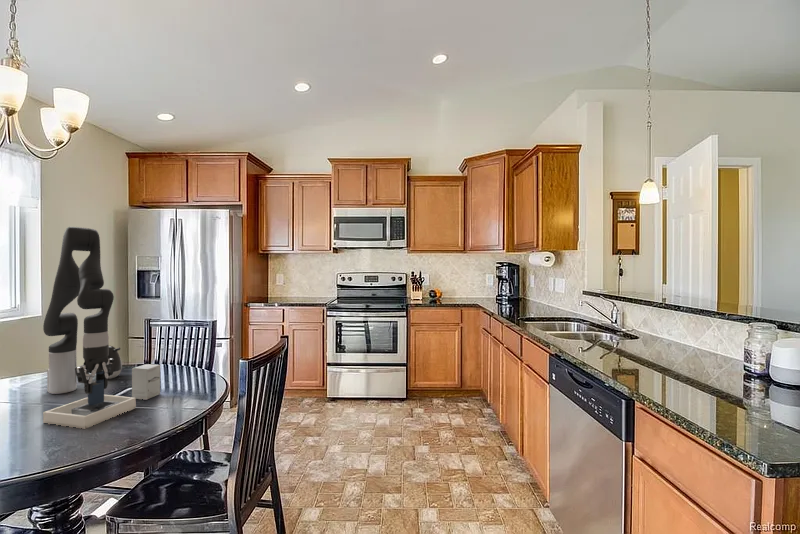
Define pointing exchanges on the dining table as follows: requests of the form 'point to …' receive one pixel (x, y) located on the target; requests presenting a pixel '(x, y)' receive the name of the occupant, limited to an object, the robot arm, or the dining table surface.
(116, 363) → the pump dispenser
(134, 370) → the supplement box
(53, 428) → the dining table surface
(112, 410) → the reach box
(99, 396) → the vaping device
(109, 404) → the inlet socket
